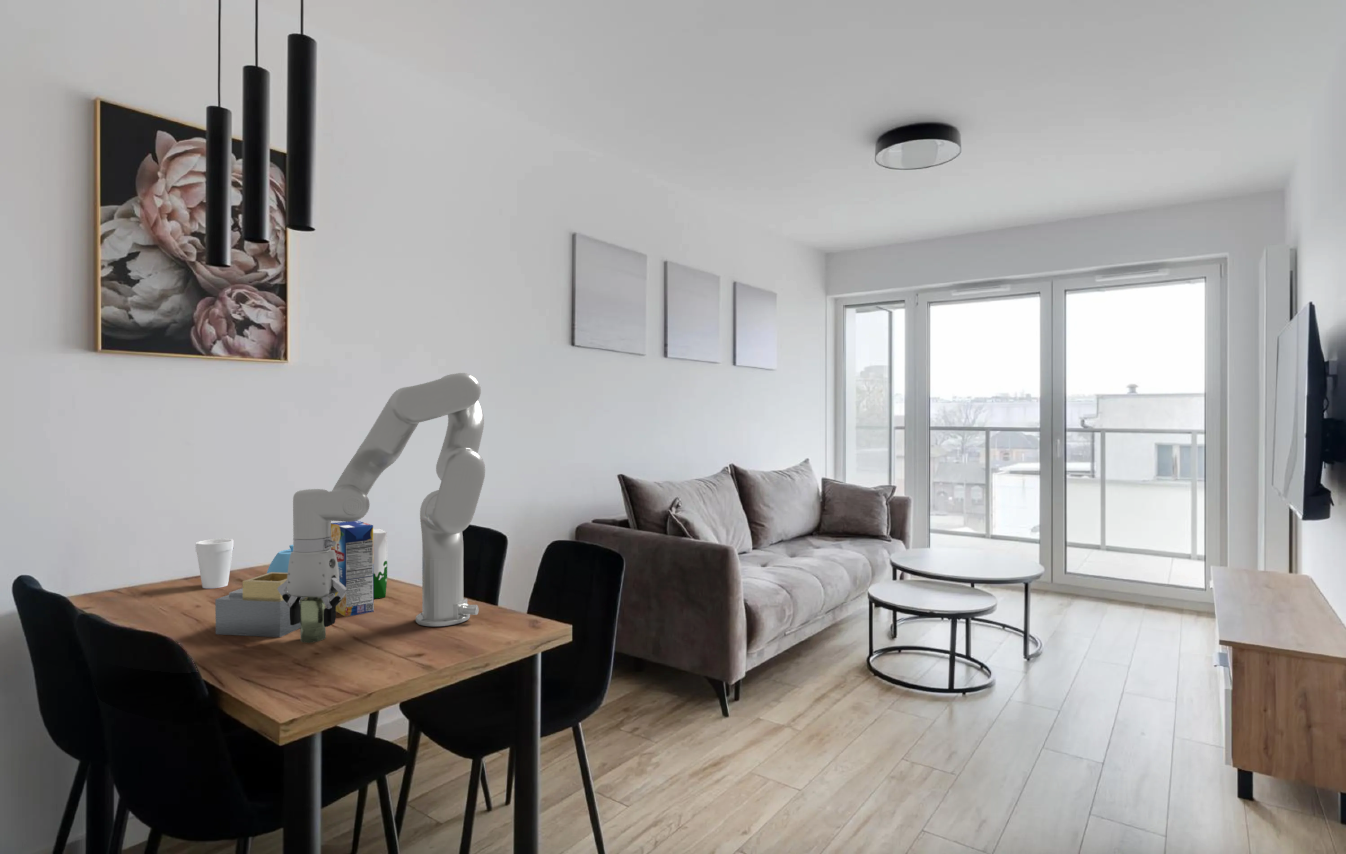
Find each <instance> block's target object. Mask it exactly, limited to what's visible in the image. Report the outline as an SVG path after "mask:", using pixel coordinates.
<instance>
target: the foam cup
mask: <svg viewBox="0 0 1346 854" xmlns="http://www.w3.org/2000/svg"><path fill="white" fill-rule="evenodd" d="M234 546H235V541H234V538H212V539H210V538H209V539H205V540H199V541H196V542H195V552H196V556H197V557H196V558H197V563H198V569H199V576H200V581H201V587H202V589H218V588H223V587H224V588H225V587H227V586H228V585H229V580H230V572H231V566H232V558H233V551H234V550H233V549H234Z"/></svg>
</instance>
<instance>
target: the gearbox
mask: <svg viewBox="0 0 1346 854" xmlns="http://www.w3.org/2000/svg"><path fill="white" fill-rule="evenodd" d="M287 575H288V573H282V572H270V573H267V572H266V573H264V574H261V575H259V576H258V575H257V576H255V577H252V578H248V579H245V580H242V588H239V589H236V590H233V591H230V592H228V594H226V595H224V596H221V597H218V598H214V600H215V601H214V604H215V606H214V607H215V635H226V636H246V637H265V638H267V637H268V638H282V637H284V636H286V635H288V634H290V633H293V632H295V631H297V630H300V623H297V624H295V625H290V607H288V606H287V603H286V602H285V601H284V599H283V598H282V596H281V594H280V593H279V591H278V590H277V588H278V587H279V586H280V585H281V584H283V583H284V582H285V581H286V580H287ZM302 598H305V597H302ZM299 604H300V603H299Z"/></svg>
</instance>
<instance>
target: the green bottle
mask: <svg viewBox="0 0 1346 854" xmlns="http://www.w3.org/2000/svg"><path fill="white" fill-rule="evenodd" d="M324 609H326V606H325V604H324V602H323V600H322V598H318V597H305V598H302V599H301V600H300V628H299V632H300V636H299V637H300V642H301V643H306V644H307V643H308V644H309V643H316V642H320V641H323V640H325V639H326V636H327V635H326V632H327V630H326V627H325V626H324Z"/></svg>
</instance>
